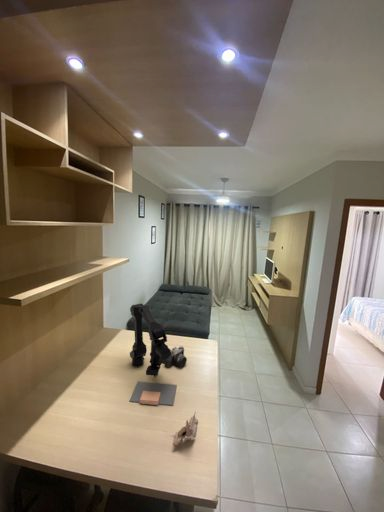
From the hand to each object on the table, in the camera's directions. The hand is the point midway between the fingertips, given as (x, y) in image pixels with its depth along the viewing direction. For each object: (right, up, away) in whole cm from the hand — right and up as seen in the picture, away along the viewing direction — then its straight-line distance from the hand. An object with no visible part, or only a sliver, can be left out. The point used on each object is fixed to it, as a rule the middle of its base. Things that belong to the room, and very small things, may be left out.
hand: (155, 376), depth 121 cm
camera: (+11, -4, +20) cm, 23 cm away
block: (0, -4, -8) cm, 9 cm away
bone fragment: (+17, -11, -27) cm, 33 cm away
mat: (+1, -6, -6) cm, 8 cm away
